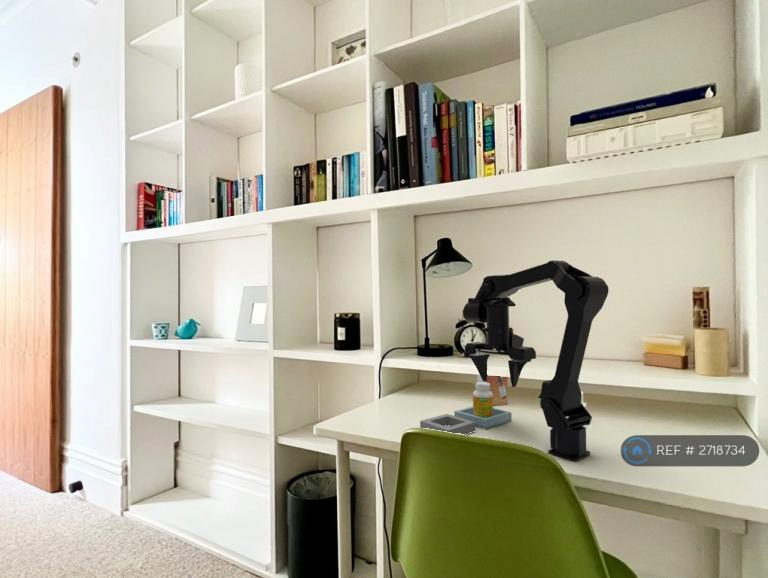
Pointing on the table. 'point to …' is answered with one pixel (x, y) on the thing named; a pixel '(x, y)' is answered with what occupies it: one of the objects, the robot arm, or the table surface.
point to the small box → (497, 388)
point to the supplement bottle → (482, 400)
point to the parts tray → (495, 420)
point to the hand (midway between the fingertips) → (499, 384)
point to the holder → (455, 424)
